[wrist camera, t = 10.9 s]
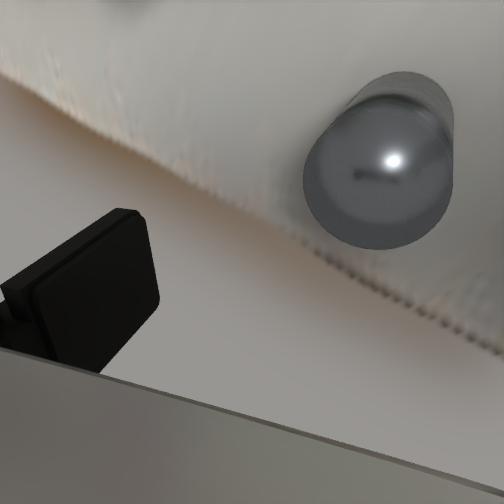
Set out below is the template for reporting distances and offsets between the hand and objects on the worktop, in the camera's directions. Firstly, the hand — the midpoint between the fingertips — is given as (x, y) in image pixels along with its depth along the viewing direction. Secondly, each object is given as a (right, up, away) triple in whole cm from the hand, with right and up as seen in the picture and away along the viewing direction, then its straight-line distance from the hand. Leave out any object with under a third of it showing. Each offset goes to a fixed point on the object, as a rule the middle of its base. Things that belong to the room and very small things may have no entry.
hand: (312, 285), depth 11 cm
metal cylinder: (+6, +7, +11) cm, 14 cm away
